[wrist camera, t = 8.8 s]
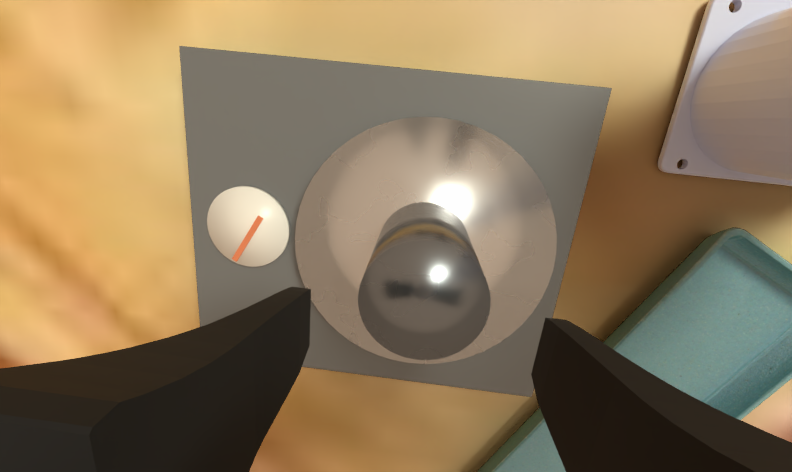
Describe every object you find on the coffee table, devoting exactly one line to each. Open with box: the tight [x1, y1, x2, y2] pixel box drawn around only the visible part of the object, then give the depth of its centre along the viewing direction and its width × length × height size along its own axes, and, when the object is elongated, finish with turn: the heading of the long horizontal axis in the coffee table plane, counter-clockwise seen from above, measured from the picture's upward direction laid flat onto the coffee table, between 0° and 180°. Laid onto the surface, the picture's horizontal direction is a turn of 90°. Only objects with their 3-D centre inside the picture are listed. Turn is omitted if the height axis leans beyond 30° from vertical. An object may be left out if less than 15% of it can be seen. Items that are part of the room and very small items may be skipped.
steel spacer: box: [358, 202, 491, 360], centre depth 15 cm, size 4×4×6 cm
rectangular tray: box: [477, 228, 792, 472], centre depth 23 cm, size 26×9×2 cm, turn 147°
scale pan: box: [295, 117, 557, 364], centre depth 19 cm, size 13×13×1 cm
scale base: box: [179, 46, 612, 397], centre depth 20 cm, size 20×17×2 cm
